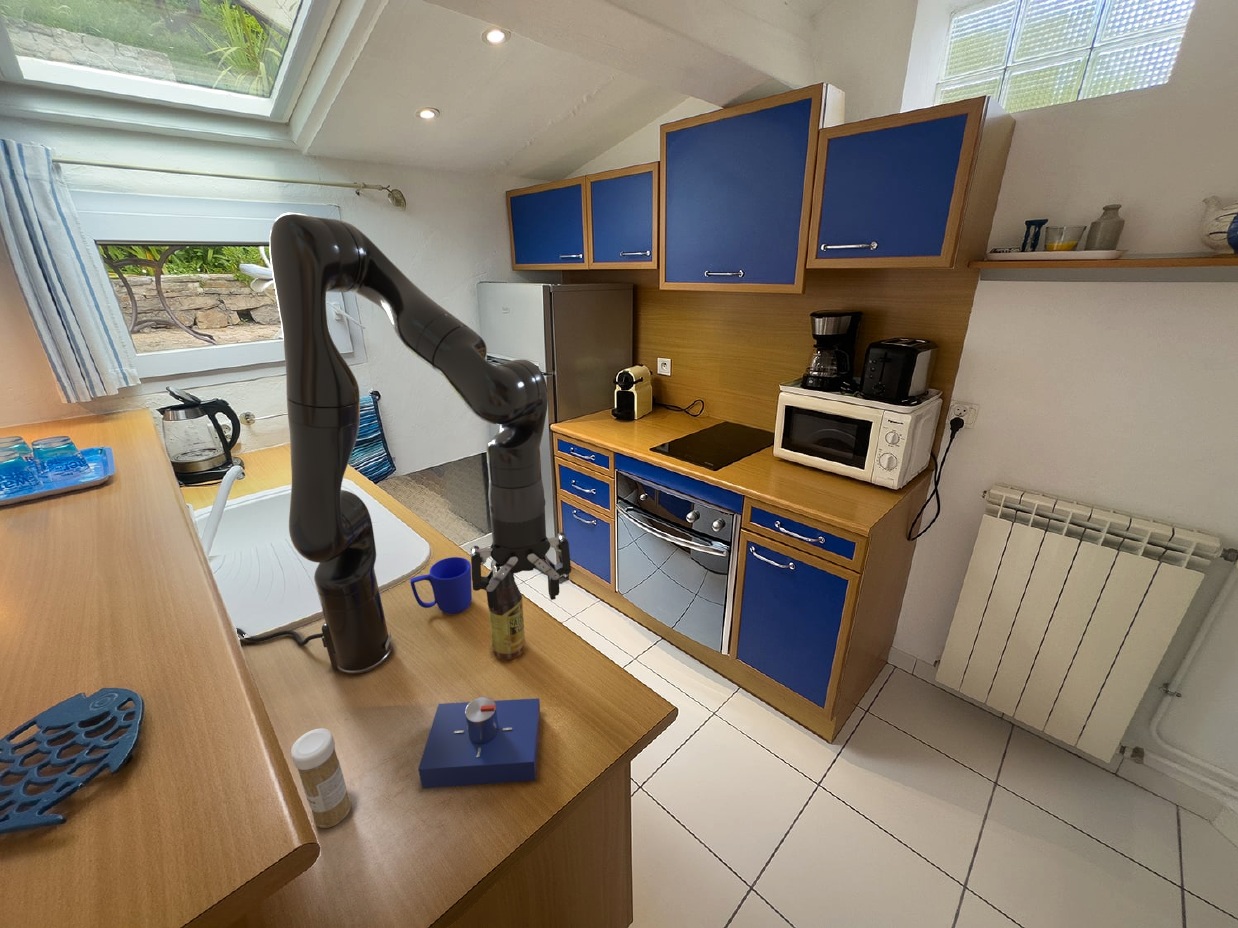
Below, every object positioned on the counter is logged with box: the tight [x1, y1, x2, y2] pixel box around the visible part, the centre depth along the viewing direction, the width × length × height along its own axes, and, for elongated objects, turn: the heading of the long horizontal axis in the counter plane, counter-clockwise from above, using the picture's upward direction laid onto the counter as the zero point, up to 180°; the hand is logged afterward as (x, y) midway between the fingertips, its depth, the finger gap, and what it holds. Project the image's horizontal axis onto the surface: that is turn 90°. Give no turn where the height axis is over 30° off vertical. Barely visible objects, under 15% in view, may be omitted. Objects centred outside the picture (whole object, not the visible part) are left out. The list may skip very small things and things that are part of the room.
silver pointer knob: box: [465, 696, 498, 744], centre depth 73 cm, size 4×4×5 cm
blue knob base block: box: [418, 697, 541, 789], centre depth 75 cm, size 16×11×4 cm
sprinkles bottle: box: [290, 727, 352, 829], centre depth 64 cm, size 5×5×14 cm
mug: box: [409, 556, 473, 616], centre depth 104 cm, size 8×12×10 cm
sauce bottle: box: [487, 559, 526, 661], centre depth 91 cm, size 6×6×20 cm
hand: (524, 601), depth 75 cm, fingers open, 8 cm apart
